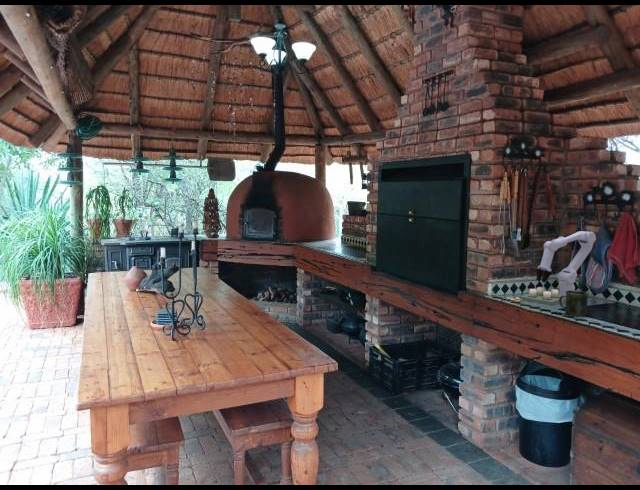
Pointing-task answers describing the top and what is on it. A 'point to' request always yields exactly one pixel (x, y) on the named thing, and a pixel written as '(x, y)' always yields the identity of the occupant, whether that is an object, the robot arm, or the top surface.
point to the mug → (575, 302)
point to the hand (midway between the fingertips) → (540, 281)
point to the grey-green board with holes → (540, 299)
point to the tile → (515, 298)
